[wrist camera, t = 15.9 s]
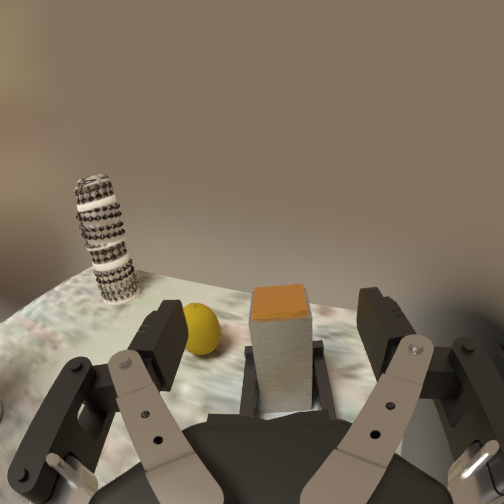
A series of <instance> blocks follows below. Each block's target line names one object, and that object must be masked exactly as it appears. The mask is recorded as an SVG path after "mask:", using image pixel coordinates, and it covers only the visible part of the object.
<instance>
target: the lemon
mask: <svg viewBox="0 0 504 504" xmlns="http://www.w3.org/2000/svg"><path fill="white" fill-rule="evenodd" d="M183 311H184V314H185V318H186V322H187V326H188V341H187V344H186V347H185V348H186V349H187V350H188V351H189V352H191V353H193V354H197V355H205V354H208V353H210V352H212V351H213V350H214V349H215V348H216V347H217V346H218V343H219V341H220V336H221V329H220V325H219V322H218V319H217V317H216V315H215V314H214V312H213V311H212V310H211V309H210V308H209V307H207V306H206V305H203V304H200V303H190V304H189V305H187V306H186V307H184V308H183Z"/></svg>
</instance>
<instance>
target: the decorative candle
mask: <svg viewBox="0 0 504 504" xmlns="http://www.w3.org/2000/svg"><path fill="white" fill-rule="evenodd" d="M74 190H75V193H76V199H77V204H78V205H77V208H78V211H77V212H78V214H77V216H76V218H77V219H78V220H79V221H81V223H80V227H79V228H80V229H81V230H82V234H81V235H82V236H83V238H85V239H87V240H86V241H85V246H86V248H87V250H88V251H90V254H91V257H92V264H93V267H94V274H95V276H97V278H96V281H97V282H98V283H99V286H98V288H99V290H100V291H101V296H102V297H103V298H104V299H103V300H104V302H105V304H107V305H109V306H117V305H122V304H125V303H128V302H130V301H132V300H133V299H135V298H136V297H137V296H138V295H139V294H140V288H139V287H138V286H139V284H138V283H139V282H138V281H137V280H136V279H137V278H136V276H137V275H136V274H134V267H133V266H132V259H130V257H129V253H128V251H127V250H126V246H125V242H124V240H125V238H126V236H125V235H124V233H125V230H124V229H121V226H122V225H123V222H121V221H119V219H118V216H119V217H120V215H121V214H122V213H121V212H119V211H118V212H117V210H116V209H118V208H119V207H120V204H118V203H116V204H115V202H116V198H115V194H114V193H113V188H112V184H111V179H110V178H108V176H107V175H106V174H104V173H102V174H98V175H94V176H91V177H87V178H84V179H80V180H79V181H78V182H77V185H76V188H75V189H74Z"/></svg>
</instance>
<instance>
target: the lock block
mask: <svg viewBox="0 0 504 504" xmlns="http://www.w3.org/2000/svg"><path fill="white" fill-rule="evenodd" d="M249 329H250V336H251V342H252V348H253V355H254V361H255V367H256V373H257V379H258V385H259V391H260V397H261V403H262V409H263V413H274V412H290V411H303V410H311V405H312V315H311V310H310V305H309V300H308V295H307V291H306V288H303V284H295V285H284V286H272V287H260V288H255V290H254V292H252V299H251V307H250V315H249Z"/></svg>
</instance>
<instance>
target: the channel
mask: <svg viewBox="0 0 504 504" xmlns="http://www.w3.org/2000/svg"><path fill="white" fill-rule="evenodd" d="M323 352H324V346H323V341H322V340H320V341H312V370H313V373H314V380H315V387H316V394H317V401H318V409H319V410H327V409H328V413H329V417H330V418H336V415H335V409H334V404H333V399H332V393H331V388H330V383H329V378H328V373H327V368H326V363H325V358H324V353H323ZM245 359H246V360H245V369H244V378H243V387H242V396H241V404H240V413H239V415H242V416H247V417H252V418H256V404H257V388H258V379H257V373H256V367H255V361H254V355H253V348H252V346H245Z"/></svg>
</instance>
